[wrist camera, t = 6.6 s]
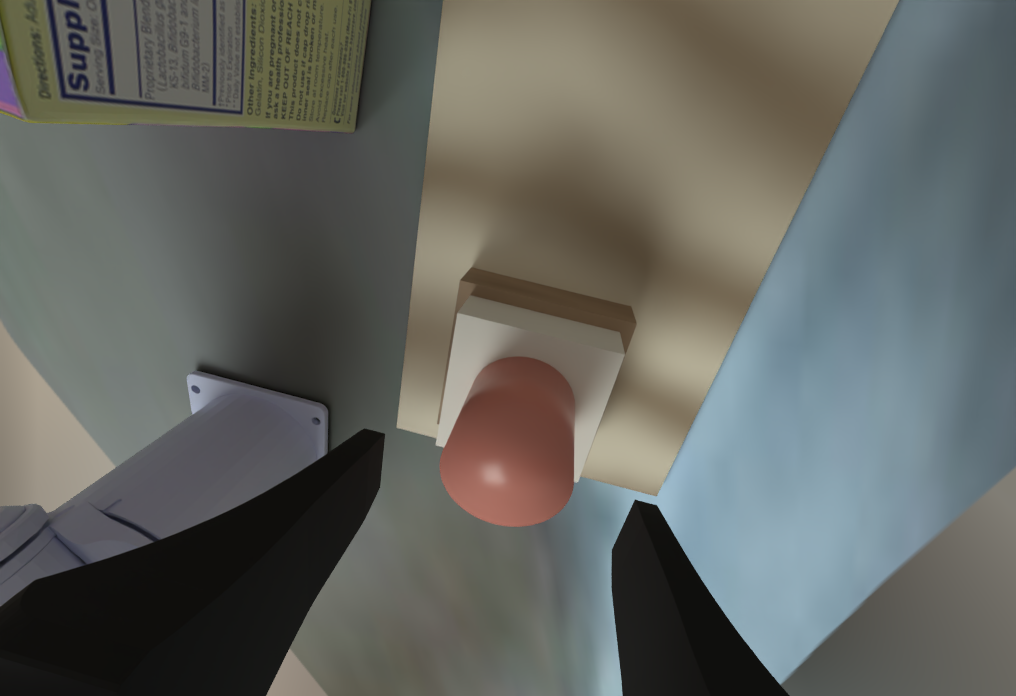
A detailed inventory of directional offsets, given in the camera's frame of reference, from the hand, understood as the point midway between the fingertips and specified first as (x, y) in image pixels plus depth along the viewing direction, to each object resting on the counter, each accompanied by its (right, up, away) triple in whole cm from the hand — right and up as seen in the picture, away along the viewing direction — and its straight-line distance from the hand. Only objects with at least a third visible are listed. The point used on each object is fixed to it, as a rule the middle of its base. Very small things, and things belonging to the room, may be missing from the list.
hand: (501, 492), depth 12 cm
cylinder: (+1, +2, +4) cm, 5 cm away
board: (+4, +9, +6) cm, 11 cm away
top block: (+1, +3, +6) cm, 7 cm away
